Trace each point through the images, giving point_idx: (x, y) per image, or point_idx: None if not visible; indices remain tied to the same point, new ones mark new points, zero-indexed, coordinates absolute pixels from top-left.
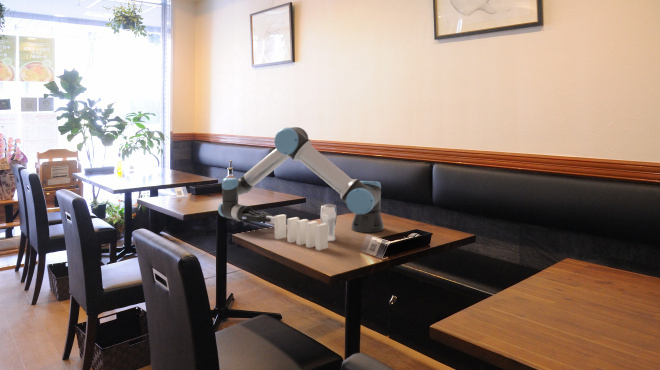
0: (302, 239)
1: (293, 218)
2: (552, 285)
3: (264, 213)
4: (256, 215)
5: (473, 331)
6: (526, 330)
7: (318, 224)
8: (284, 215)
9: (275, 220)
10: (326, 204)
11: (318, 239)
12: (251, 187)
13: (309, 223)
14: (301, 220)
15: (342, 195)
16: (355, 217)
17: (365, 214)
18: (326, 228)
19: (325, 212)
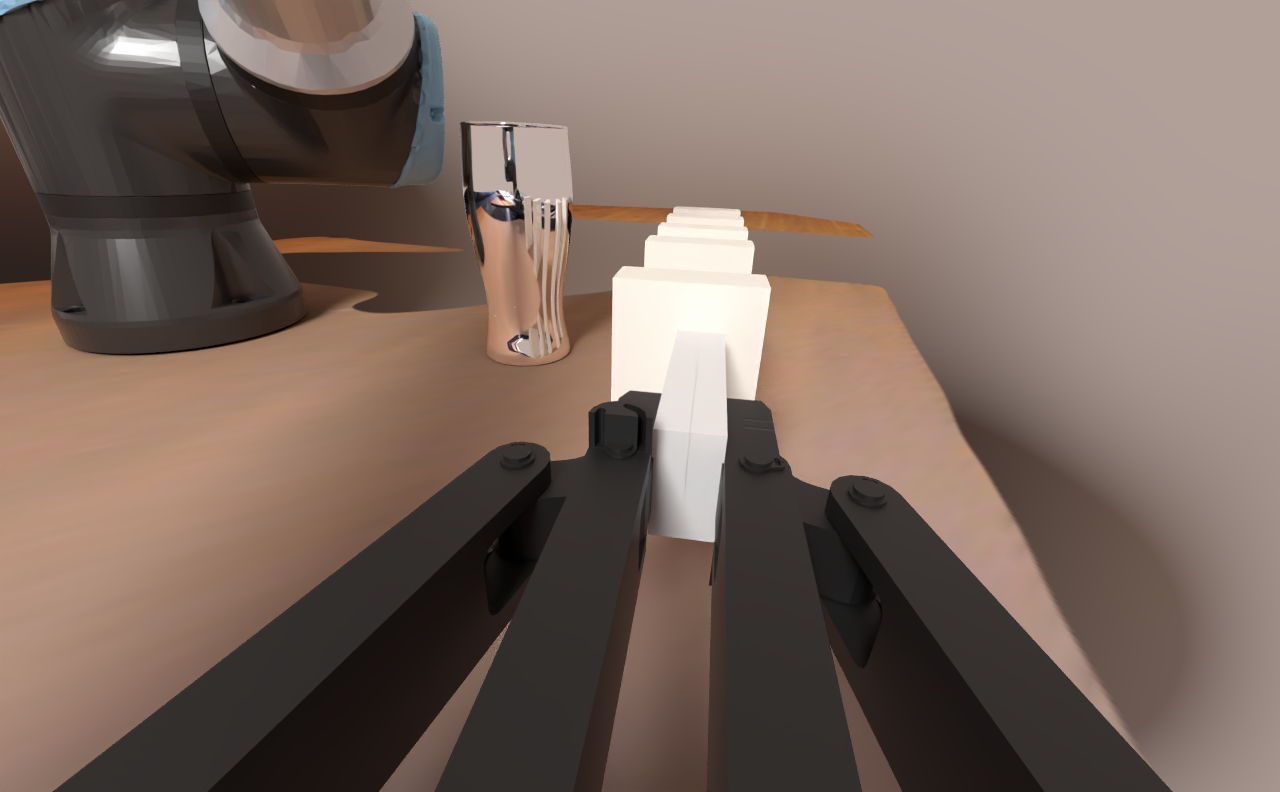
0: None
1: (703, 240)
2: (624, 217)
3: (310, 705)
4: (840, 700)
5: (844, 231)
6: (792, 223)
7: (720, 210)
8: (650, 269)
9: (761, 339)
10: (473, 121)
11: None
12: None
13: (738, 217)
14: (713, 227)
15: (403, 55)
16: (202, 258)
17: (253, 216)
18: None
19: (570, 167)
